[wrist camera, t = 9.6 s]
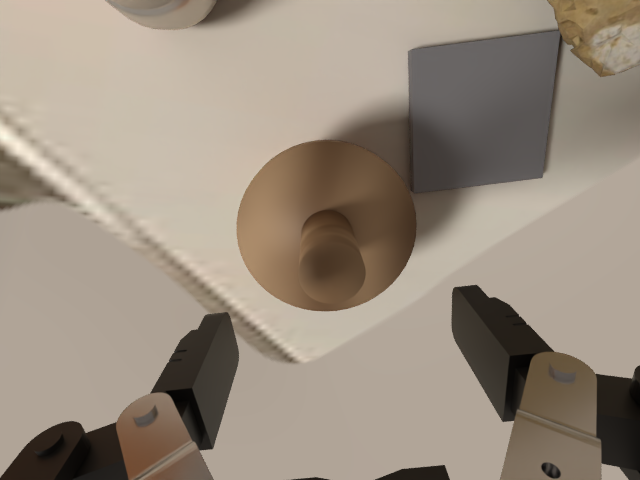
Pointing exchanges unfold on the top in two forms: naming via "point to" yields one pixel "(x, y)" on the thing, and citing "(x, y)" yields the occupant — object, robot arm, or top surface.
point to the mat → (480, 111)
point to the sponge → (601, 32)
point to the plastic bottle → (164, 12)
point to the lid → (326, 226)
